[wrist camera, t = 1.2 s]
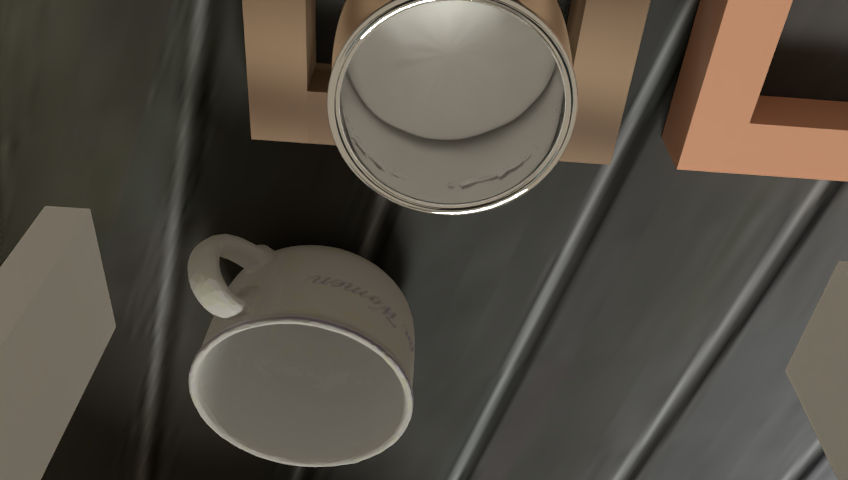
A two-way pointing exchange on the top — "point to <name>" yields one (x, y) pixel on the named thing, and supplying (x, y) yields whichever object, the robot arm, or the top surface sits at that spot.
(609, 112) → the walnut holder
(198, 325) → the top surface
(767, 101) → the terracotta holder
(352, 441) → the teacup
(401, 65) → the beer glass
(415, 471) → the top surface
